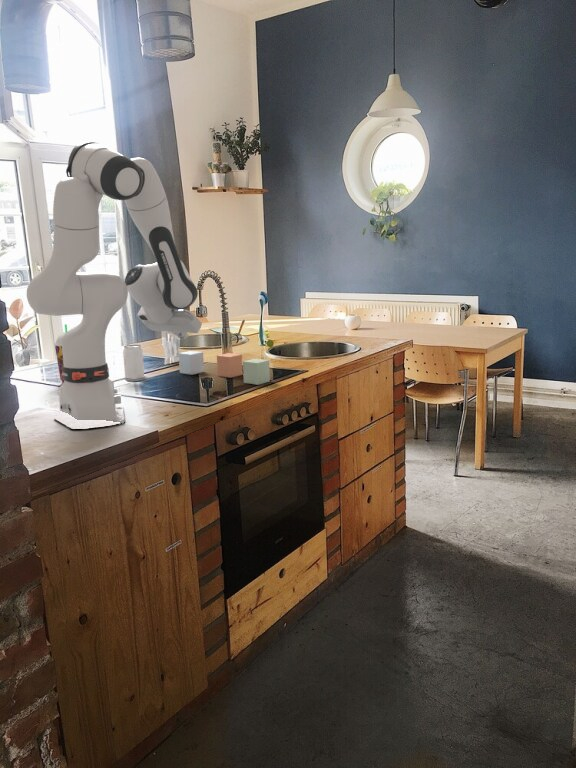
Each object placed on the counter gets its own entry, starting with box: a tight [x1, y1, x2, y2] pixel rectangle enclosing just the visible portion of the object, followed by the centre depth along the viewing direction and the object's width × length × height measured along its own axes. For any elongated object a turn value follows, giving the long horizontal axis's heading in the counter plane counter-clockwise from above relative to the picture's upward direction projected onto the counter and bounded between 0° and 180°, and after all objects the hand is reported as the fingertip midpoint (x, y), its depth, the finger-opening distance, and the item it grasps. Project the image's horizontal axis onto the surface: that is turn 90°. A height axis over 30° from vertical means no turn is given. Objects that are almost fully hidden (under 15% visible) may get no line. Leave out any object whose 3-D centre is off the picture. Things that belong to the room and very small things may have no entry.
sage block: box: [242, 358, 271, 385], centre depth 214 cm, size 6×6×7 cm
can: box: [122, 344, 145, 383], centre depth 227 cm, size 6×6×12 cm
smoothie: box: [54, 323, 68, 384], centre depth 224 cm, size 8×8×20 cm
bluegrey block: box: [178, 350, 205, 376], centre depth 232 cm, size 6×6×7 cm
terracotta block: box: [216, 352, 244, 378], centre depth 226 cm, size 6×6×7 cm
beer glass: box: [160, 331, 181, 365], centre depth 255 cm, size 7×7×15 cm
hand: (184, 337), depth 213 cm, fingers closed
